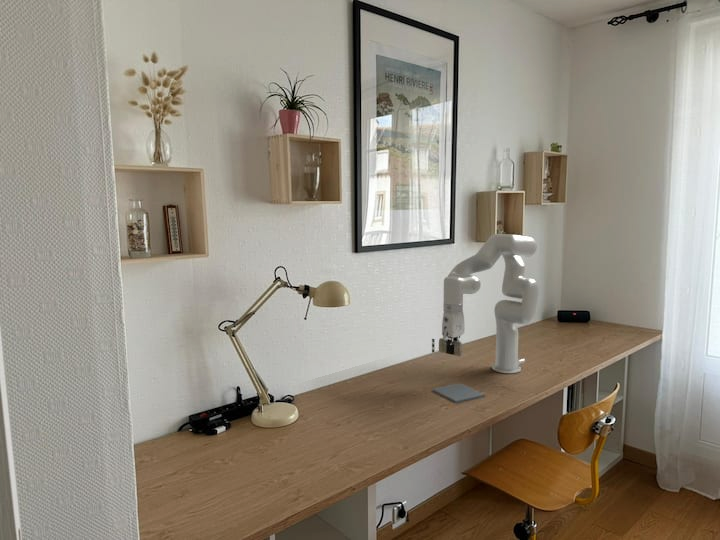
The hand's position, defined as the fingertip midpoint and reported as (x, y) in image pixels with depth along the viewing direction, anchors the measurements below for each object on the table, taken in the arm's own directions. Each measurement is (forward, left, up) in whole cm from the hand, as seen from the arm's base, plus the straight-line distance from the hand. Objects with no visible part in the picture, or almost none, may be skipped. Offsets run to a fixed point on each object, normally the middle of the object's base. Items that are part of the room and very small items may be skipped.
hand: (452, 352), depth 202 cm
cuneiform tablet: (+1, -2, -1) cm, 2 cm away
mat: (+1, +5, -15) cm, 16 cm away
